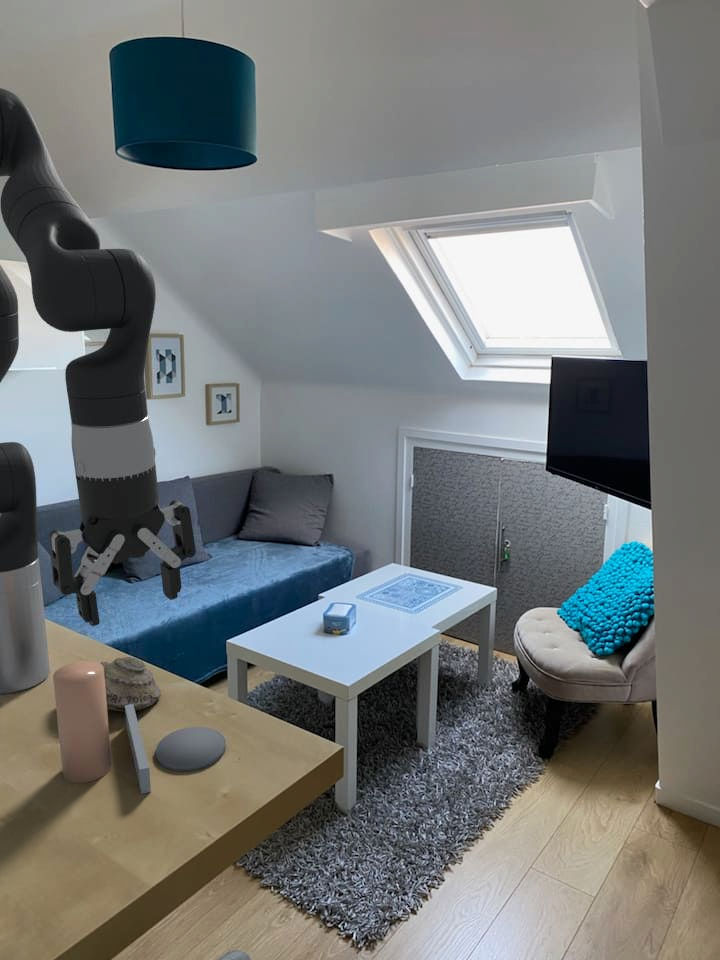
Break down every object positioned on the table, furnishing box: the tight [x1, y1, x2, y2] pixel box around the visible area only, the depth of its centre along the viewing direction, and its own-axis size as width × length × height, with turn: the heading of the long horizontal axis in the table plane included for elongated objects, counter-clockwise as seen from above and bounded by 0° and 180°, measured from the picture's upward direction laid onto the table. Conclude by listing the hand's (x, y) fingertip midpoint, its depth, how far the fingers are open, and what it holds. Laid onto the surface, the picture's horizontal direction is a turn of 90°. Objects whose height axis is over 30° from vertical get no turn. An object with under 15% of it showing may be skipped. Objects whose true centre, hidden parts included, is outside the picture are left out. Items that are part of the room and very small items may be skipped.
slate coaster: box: [155, 726, 227, 772], centre depth 87 cm, size 8×8×1 cm
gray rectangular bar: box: [124, 704, 152, 795], centre depth 85 cm, size 14×1×3 cm, turn 24°
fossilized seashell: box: [99, 656, 162, 712], centre depth 97 cm, size 11×11×7 cm
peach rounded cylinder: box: [52, 660, 113, 784], centre depth 82 cm, size 5×5×12 cm
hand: (132, 609), depth 77 cm, fingers open, 8 cm apart
